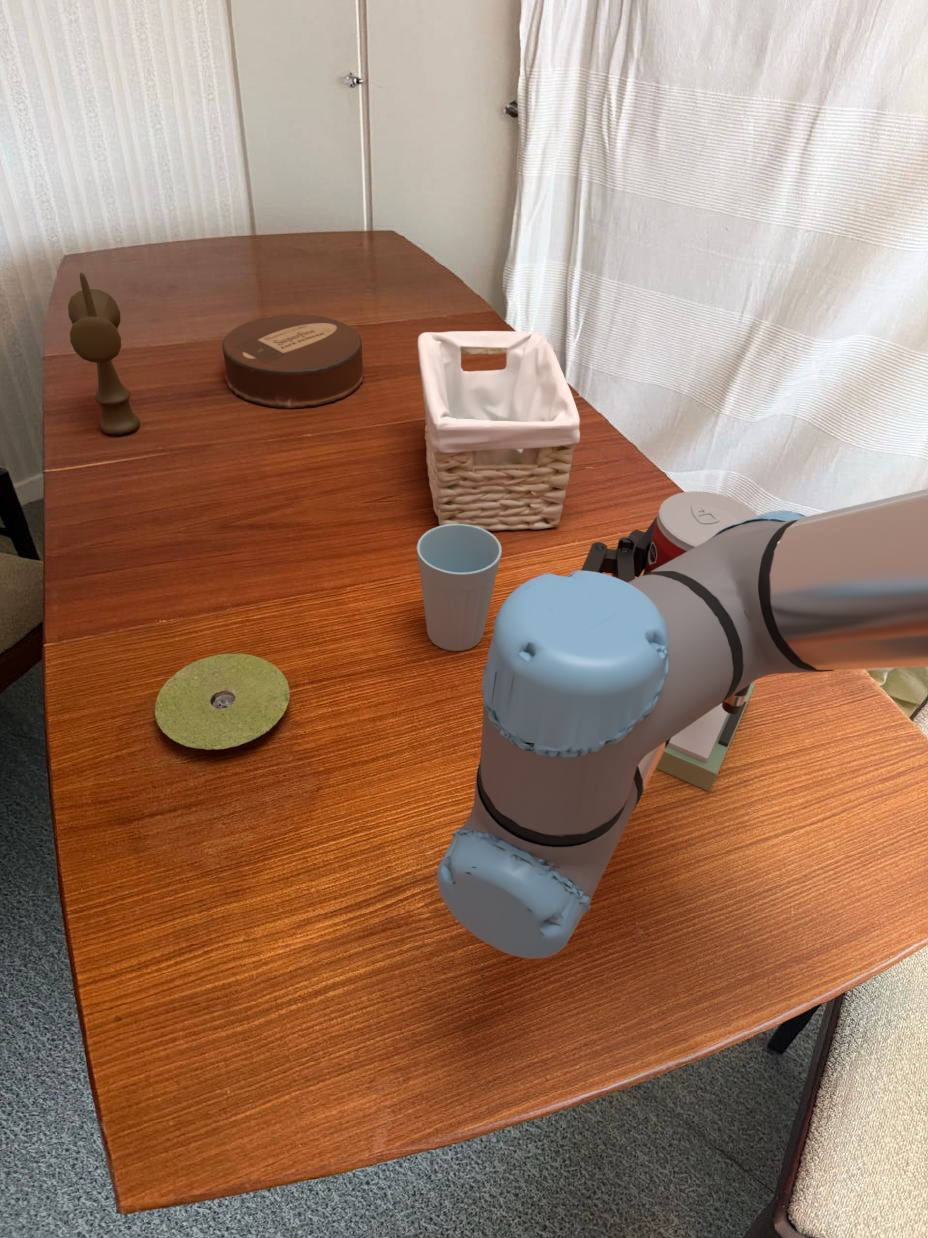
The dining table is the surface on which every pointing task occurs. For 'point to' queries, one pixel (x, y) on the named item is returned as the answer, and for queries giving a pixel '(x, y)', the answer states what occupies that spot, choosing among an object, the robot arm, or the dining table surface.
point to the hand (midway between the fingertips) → (715, 538)
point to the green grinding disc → (222, 701)
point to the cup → (457, 583)
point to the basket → (497, 430)
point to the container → (293, 360)
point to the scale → (702, 746)
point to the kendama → (101, 354)
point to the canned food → (691, 524)
